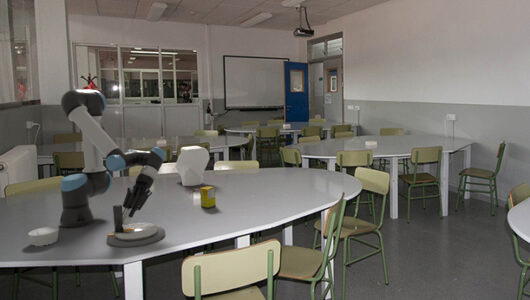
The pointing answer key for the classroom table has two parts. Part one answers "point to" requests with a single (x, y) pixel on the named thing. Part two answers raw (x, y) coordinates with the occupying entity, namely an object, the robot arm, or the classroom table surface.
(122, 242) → the base plate
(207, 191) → the supplement box
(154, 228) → the dial
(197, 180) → the white faceted lump
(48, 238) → the ramekin
